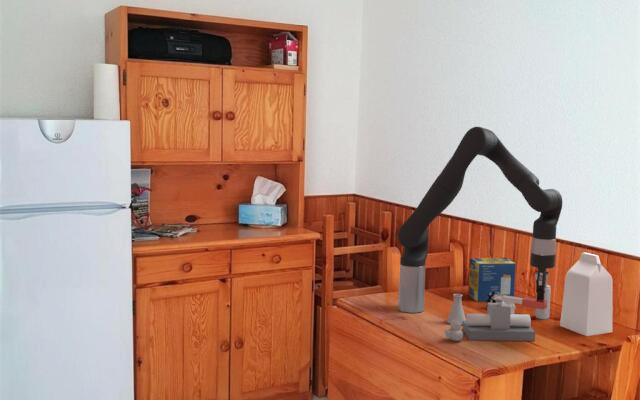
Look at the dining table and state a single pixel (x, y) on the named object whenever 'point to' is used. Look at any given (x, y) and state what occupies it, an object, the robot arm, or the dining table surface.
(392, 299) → the dining table surface
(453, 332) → the rubber duck
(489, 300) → the valve
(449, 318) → the flask
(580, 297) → the milk
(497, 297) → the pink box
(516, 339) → the pipe manifold
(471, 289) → the protein box
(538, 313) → the beverage can
